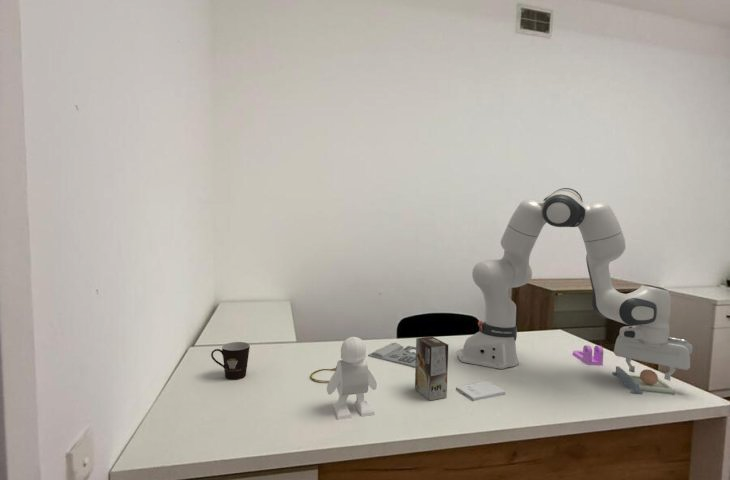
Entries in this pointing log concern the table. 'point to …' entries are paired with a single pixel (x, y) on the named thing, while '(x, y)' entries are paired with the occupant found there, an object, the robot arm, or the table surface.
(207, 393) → the table surface
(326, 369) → the brown hoop
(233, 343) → the coffee mug
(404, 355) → the office telephone
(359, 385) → the toy robot
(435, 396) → the coffee box
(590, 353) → the bracket
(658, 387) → the tray
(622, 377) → the divider
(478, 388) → the external hard drive
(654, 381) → the ball
